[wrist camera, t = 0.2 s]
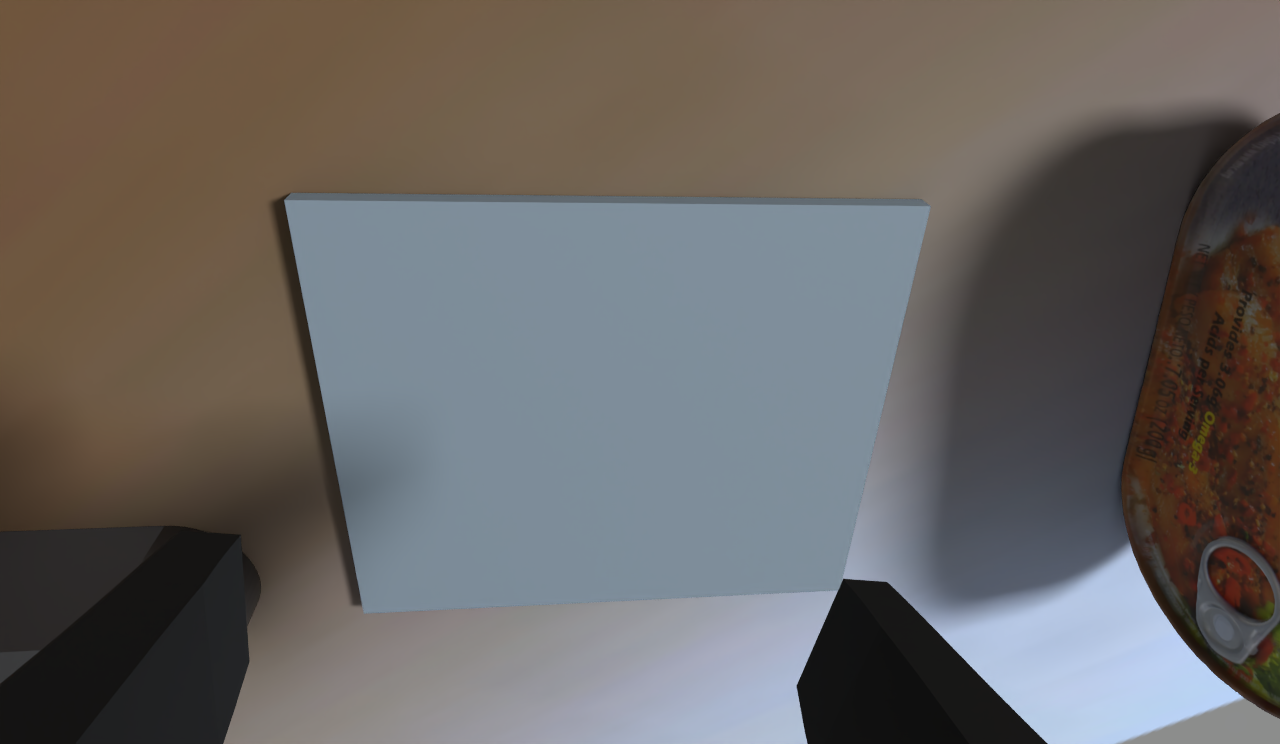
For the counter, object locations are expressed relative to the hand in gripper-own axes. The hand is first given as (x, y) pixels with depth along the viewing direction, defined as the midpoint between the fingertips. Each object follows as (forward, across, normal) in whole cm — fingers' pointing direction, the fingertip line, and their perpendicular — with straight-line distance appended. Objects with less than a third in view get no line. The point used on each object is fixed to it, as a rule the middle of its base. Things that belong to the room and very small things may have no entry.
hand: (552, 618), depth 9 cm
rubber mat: (+10, -2, +4) cm, 11 cm away
